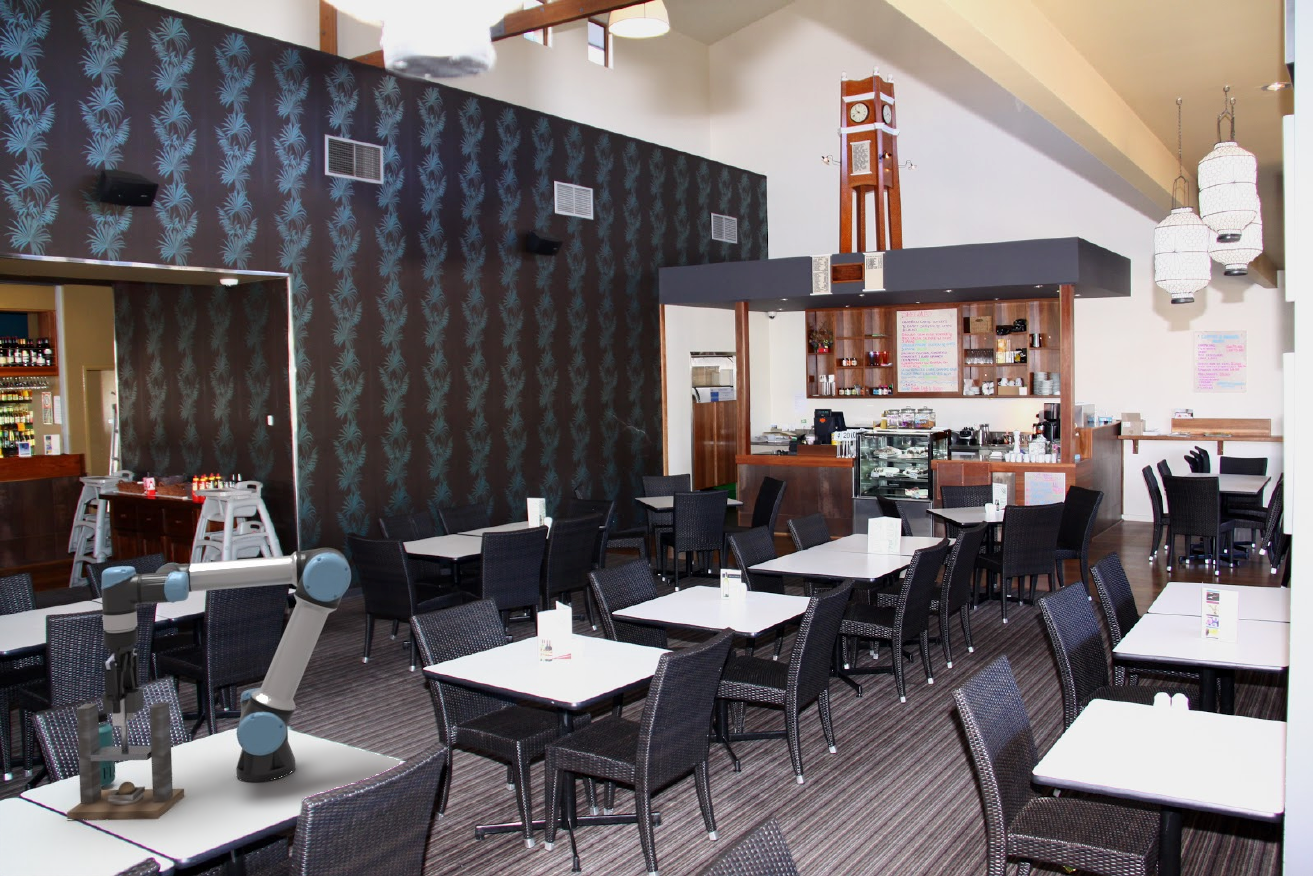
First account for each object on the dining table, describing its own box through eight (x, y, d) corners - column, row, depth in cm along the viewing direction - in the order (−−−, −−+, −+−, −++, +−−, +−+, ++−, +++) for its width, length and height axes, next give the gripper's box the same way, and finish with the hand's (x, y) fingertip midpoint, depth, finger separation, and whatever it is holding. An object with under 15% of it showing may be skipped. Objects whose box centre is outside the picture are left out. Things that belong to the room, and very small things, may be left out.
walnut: (137, 793, 255) (137, 779, 255) (130, 799, 252) (129, 784, 252) (123, 793, 255) (123, 779, 255) (116, 799, 252) (115, 785, 252)
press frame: (184, 796, 261) (180, 696, 260) (157, 818, 247) (153, 713, 246) (98, 797, 261) (94, 697, 260) (67, 820, 247) (62, 715, 246)
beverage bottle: (103, 793, 264) (100, 717, 263) (81, 791, 265) (78, 716, 264) (121, 783, 270) (118, 709, 269) (100, 782, 272) (97, 708, 271)
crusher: (159, 751, 256) (156, 687, 256) (147, 760, 250) (144, 694, 250) (103, 752, 256) (101, 688, 255) (90, 761, 250) (88, 695, 249)
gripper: (123, 622, 260) (126, 712, 261) (86, 637, 243) (89, 734, 244) (152, 621, 260) (155, 711, 261) (117, 637, 243) (121, 733, 244)
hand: (124, 722), depth 253 cm, fingers closed on crusher, 4 cm apart
